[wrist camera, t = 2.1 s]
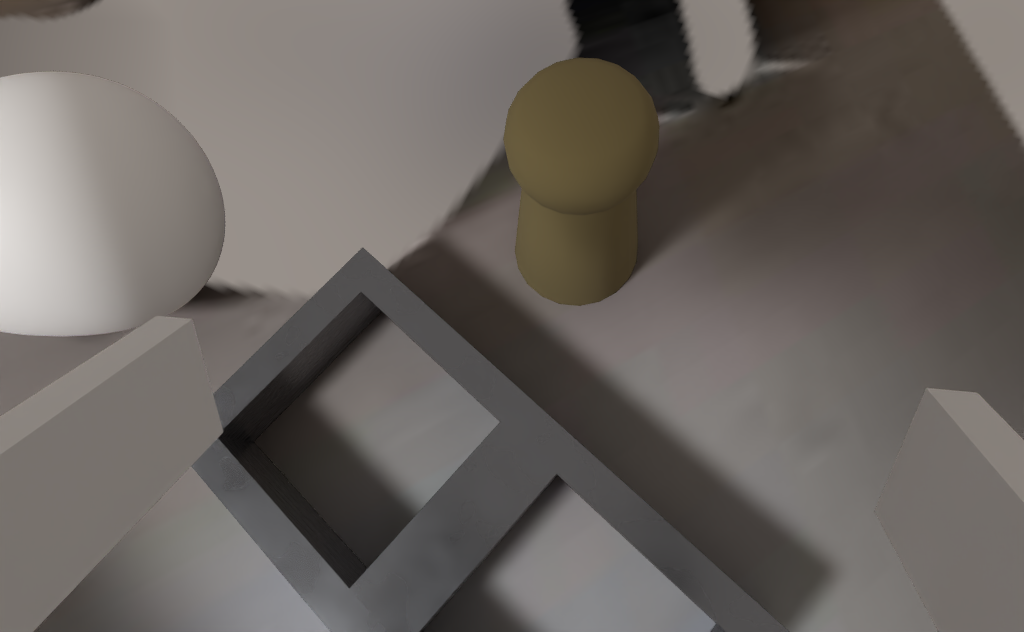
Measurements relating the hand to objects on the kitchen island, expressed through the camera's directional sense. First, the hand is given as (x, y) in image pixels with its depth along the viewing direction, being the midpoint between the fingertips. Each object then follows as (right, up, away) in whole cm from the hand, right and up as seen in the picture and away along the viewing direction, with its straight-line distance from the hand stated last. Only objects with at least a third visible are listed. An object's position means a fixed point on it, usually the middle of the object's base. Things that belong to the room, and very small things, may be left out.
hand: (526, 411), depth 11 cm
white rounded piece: (-21, +5, +20) cm, 30 cm away
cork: (+3, +5, +18) cm, 19 cm away
